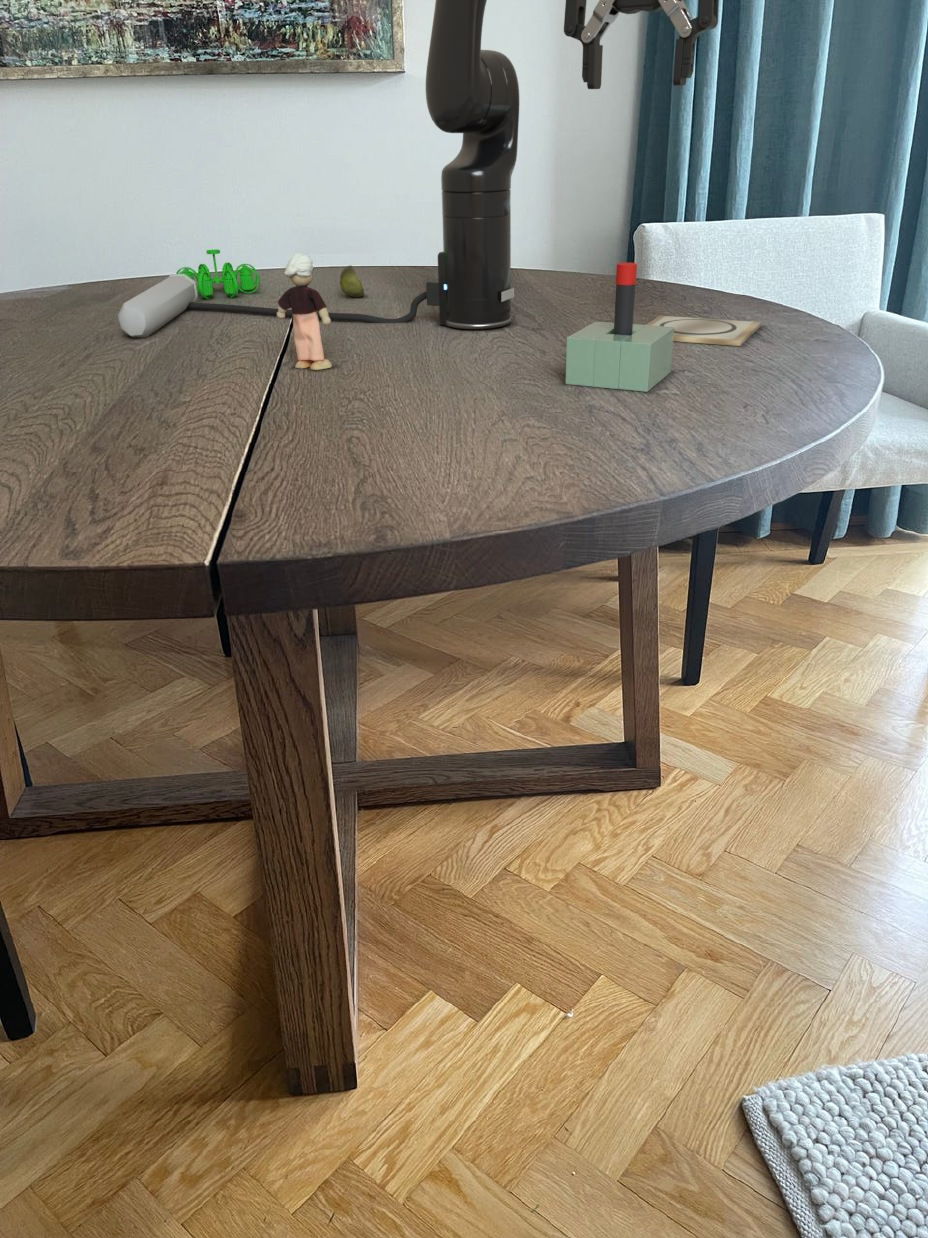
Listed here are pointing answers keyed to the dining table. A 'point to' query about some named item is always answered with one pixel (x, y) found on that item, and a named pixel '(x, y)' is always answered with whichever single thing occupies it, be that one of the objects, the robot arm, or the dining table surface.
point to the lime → (351, 283)
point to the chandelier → (223, 277)
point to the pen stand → (619, 357)
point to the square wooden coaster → (708, 330)
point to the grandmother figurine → (305, 313)
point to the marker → (625, 298)
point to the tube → (157, 305)
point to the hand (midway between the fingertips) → (635, 87)
